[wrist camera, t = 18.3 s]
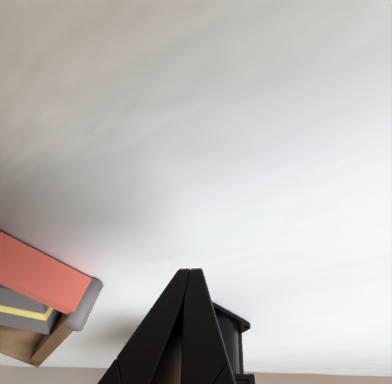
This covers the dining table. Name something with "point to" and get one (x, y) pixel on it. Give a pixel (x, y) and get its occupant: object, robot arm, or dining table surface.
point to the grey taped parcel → (26, 312)
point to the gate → (47, 281)
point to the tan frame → (32, 342)
